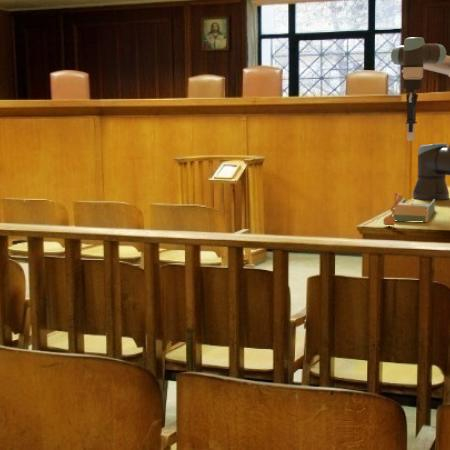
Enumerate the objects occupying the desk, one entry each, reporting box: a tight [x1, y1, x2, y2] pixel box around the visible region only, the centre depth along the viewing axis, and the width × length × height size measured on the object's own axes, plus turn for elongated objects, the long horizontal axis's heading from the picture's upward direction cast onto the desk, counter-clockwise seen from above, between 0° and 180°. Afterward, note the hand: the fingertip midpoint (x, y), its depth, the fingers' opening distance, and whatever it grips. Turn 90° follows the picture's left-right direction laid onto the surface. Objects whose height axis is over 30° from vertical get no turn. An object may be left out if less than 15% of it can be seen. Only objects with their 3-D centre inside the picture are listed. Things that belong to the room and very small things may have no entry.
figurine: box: [383, 191, 403, 226], centre depth 262 cm, size 8×6×12 cm
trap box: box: [392, 197, 436, 223], centre depth 286 cm, size 30×12×6 cm, turn 160°
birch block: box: [398, 202, 413, 205], centre depth 278 cm, size 5×5×3 cm
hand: (410, 140), depth 302 cm, fingers closed
